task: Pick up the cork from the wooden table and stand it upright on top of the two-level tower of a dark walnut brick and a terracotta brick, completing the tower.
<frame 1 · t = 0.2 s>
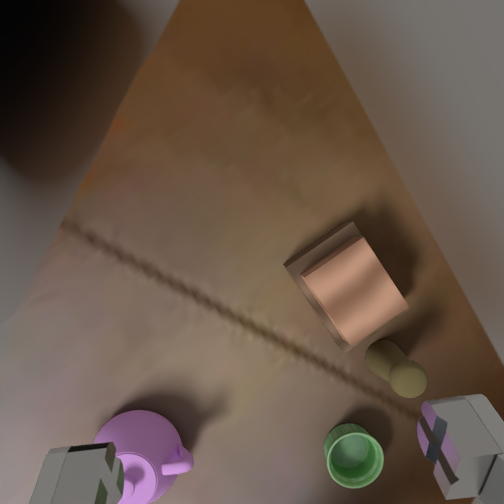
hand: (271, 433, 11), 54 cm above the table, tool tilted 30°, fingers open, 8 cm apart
ramekin: (347, 445, 68), on the table
teapot: (136, 447, 66), on the table
cork: (382, 357, 67), on the table
brick tower: (341, 284, 66), on the table
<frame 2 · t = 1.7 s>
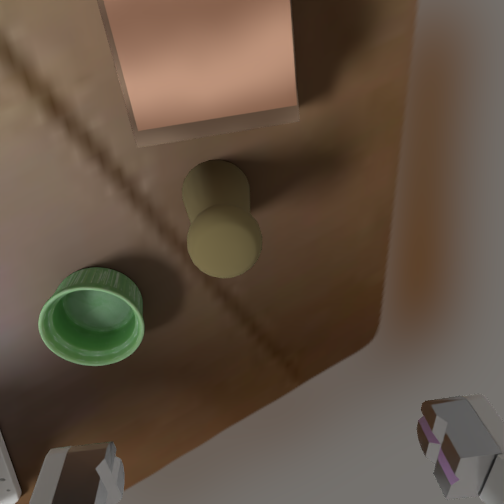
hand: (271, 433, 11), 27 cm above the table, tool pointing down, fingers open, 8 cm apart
ramekin: (101, 299, 40), on the table
cork: (216, 192, 37), on the table
brick tower: (196, 9, 29), on the table
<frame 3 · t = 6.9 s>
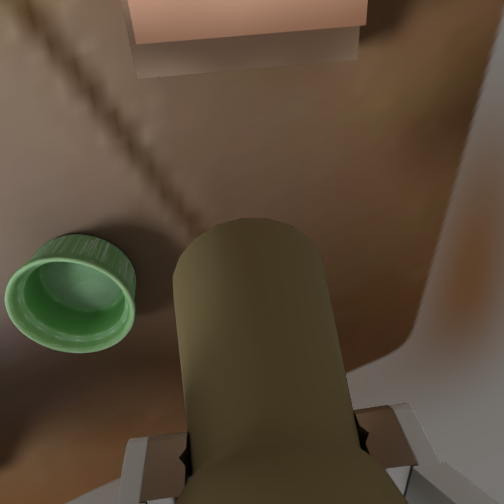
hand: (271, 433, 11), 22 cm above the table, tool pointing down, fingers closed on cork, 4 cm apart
ramekin: (87, 273, 34), on the table
cork: (249, 283, 16), point 15 cm above the table, touching gripper
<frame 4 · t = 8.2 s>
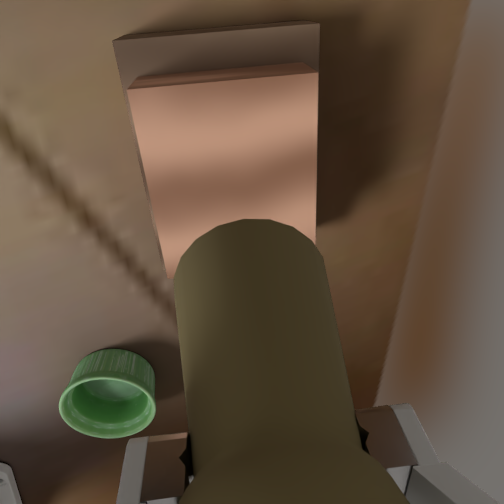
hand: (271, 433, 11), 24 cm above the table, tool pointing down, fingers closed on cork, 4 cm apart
ramekin: (116, 373, 43), on the table
cork: (250, 283, 16), point 18 cm above the table, touching gripper
brick tower: (227, 146, 31), on the table
when the fingers open (14 cm above the table, at t = 10.9 s): cork stays where it is, resting on brick tower.
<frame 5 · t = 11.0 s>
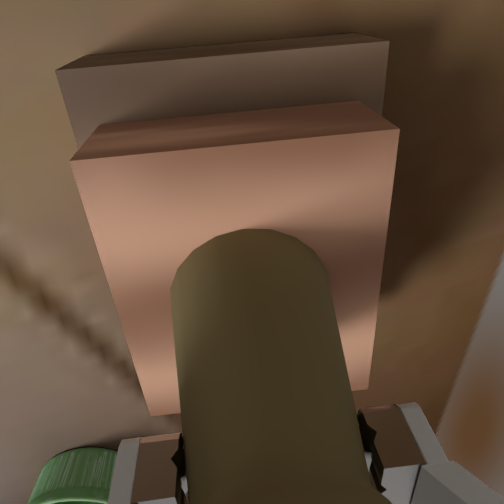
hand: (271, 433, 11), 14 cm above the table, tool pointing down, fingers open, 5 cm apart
ramekin: (94, 471, 34), on the table
cork: (250, 295, 16), point 8 cm above the table, touching brick tower
brick tower: (237, 208, 22), on the table
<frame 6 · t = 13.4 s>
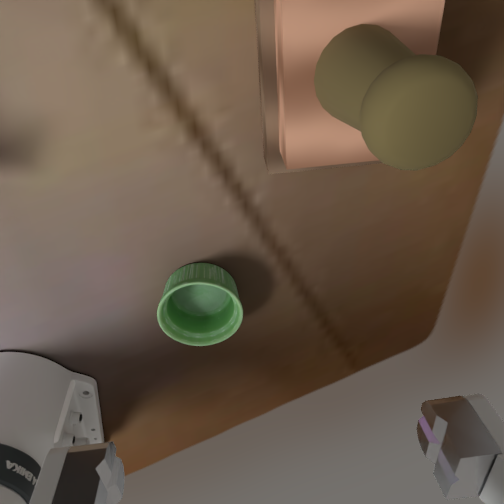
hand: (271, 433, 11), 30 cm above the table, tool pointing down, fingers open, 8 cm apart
ramekin: (201, 288, 47), on the table
cork: (358, 75, 27), point 8 cm above the table, touching brick tower
brick tower: (330, 57, 34), on the table
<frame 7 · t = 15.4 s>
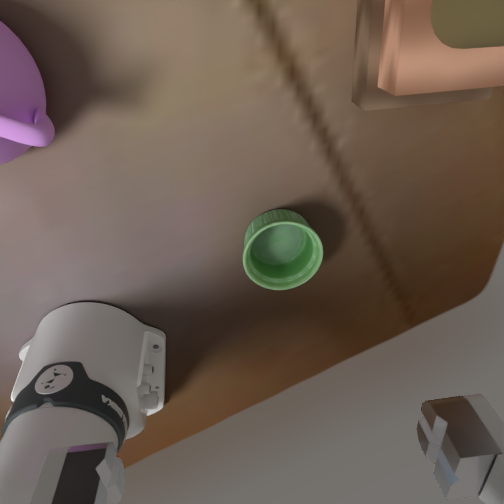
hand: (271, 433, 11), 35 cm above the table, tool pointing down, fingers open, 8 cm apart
ramekin: (277, 237, 49), on the table
cork: (469, 3, 30), point 8 cm above the table, touching brick tower
brick tower: (422, 3, 37), on the table
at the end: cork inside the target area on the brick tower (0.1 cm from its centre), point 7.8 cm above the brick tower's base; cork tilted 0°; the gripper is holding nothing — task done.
